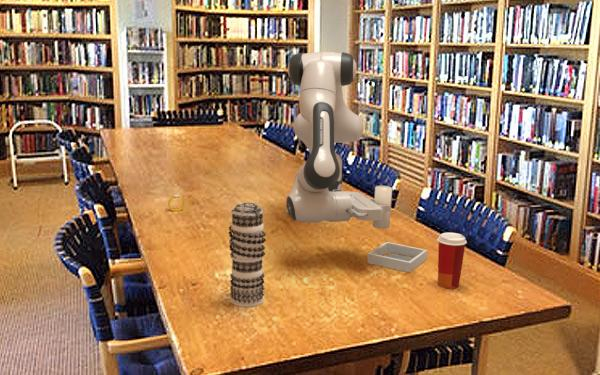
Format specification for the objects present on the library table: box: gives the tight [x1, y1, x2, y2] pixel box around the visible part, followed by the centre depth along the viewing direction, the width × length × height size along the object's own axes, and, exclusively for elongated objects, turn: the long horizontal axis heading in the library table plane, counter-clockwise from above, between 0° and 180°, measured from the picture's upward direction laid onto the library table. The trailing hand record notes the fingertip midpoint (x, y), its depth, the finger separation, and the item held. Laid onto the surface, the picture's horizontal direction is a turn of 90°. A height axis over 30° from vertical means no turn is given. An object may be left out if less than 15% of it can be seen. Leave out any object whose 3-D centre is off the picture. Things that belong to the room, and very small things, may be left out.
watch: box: [167, 194, 185, 212], centre depth 237 cm, size 6×3×6 cm, turn 112°
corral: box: [366, 241, 429, 274], centre depth 188 cm, size 14×14×3 cm
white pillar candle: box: [372, 185, 393, 230], centre depth 186 cm, size 5×5×12 cm
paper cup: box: [436, 232, 468, 290], centre depth 170 cm, size 8×8×14 cm
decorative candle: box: [228, 202, 267, 308], centre depth 155 cm, size 9×9×25 cm
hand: (385, 205), depth 186 cm, fingers closed on white pillar candle, 5 cm apart
